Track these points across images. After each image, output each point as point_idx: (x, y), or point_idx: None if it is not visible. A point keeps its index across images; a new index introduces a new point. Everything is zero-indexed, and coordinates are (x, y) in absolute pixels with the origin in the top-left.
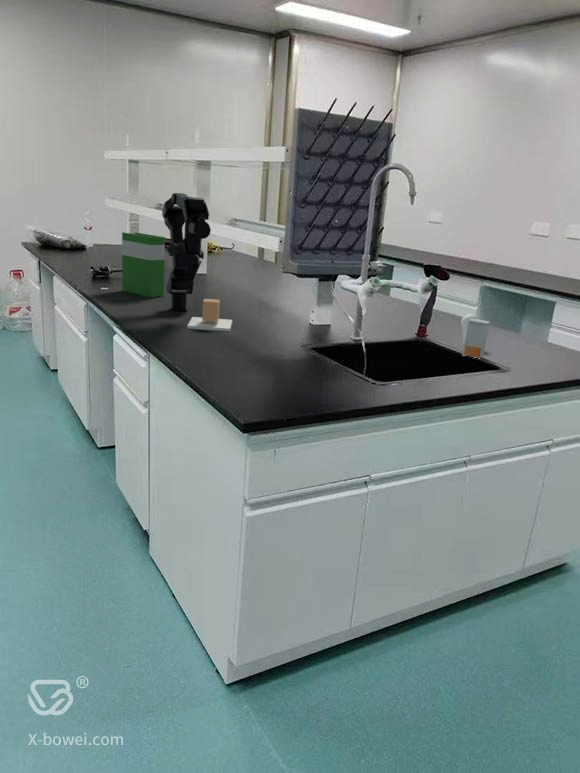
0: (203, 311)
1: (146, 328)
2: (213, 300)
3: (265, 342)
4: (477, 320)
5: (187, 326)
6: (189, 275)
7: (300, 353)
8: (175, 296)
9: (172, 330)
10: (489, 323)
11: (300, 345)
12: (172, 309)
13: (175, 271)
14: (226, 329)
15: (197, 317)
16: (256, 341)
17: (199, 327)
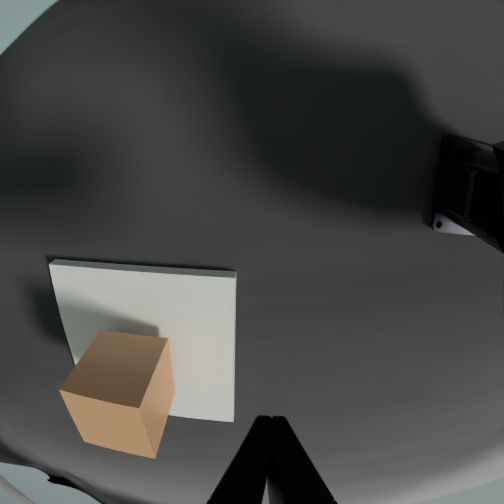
0: (83, 359)
1: (8, 101)
2: (116, 435)
3: (48, 434)
4: None
5: (51, 263)
6: (226, 473)
7: (25, 453)
8: (485, 182)
9: (12, 206)
10: None
11: (72, 473)
12: (442, 153)
13: None
14: None
15: (230, 302)
16: (43, 422)
17: (61, 308)
